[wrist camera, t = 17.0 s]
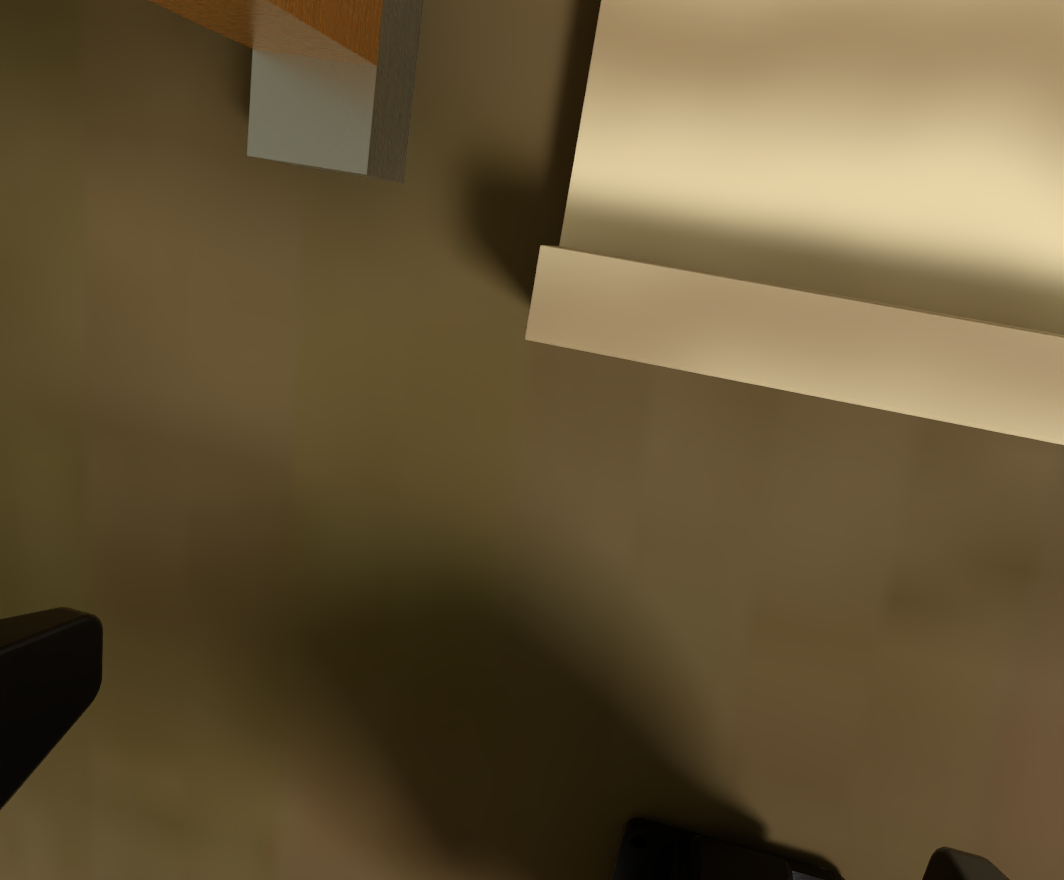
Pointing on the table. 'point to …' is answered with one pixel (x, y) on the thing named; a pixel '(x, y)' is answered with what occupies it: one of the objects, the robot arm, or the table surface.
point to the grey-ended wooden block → (324, 78)
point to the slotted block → (825, 203)
